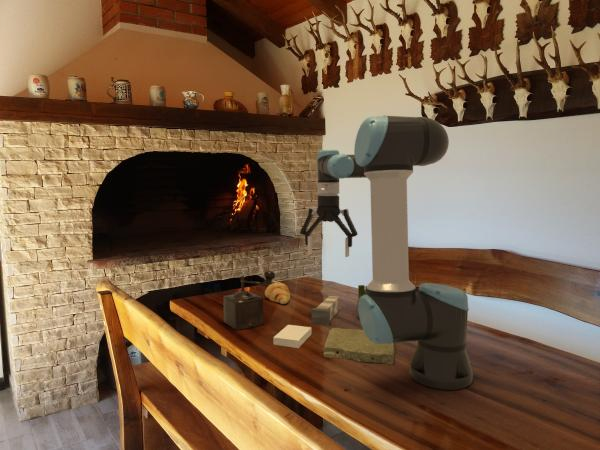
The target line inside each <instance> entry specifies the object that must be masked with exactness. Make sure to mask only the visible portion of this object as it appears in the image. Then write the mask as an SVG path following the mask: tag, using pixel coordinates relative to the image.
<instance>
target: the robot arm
mask: <svg viewBox="0 0 600 450" xmlns="http://www.w3.org/2000/svg"><path fill="white" fill-rule="evenodd" d="M362 121H363V122H361V124H360V126H359V128H358V130H357V133H356V136H355V141H354V148H353V149H354V151H353V152H354V153H353V154H345V153H340V151H339V150H338V149H320V150H318V152H317V159H316V162H317V194H318V196H317V208H314V207H311V208H309V209H308V213H307V217H306V219H305V220H304V223H303V225H302V227H301V229H300V231H299V234H300V235H303V236H304V238H305V239H304V240H305V241H304V243H305V245H306V246H307V255H309V256H310V255H312V254H313V235H311V234H312V233H313V232H314V230H315V229H316V228H317V227H318V225H320V224H321V222H324V223H325V222H326V223H327V222H328V223H333V222H334V223H335V224H336V225H337V226H338V227H339V228H340V230H341V231H342V232H343V233H344V234H345V236H346V237H345V240H344V241H345V242H344V243H345V244H344V245H345V247H344V249H345V250H344V251H345V252H344V255H345V258H349V256H350V248H352V246H353V237H357V236H358V231H357V230H356V227H355V224H354V223H353V221H352V218H351V216H350V214H349V213H350V212H349V209H348V208H345V209H341V208H340V196H339V194H340V179H359V178H360V179H361V178H362V179H363V178H365V179H366V178H367V179H368V180H369V185H370V220H371V221H370V223H371V228H370V230H371V262H372V264H371V265H372V267H371V268H372V270H371V271H372V279H371V282H369V283H368V284H367V285H366V286H367V295H363V296H362V297H360V299H359V303H358V302H357V303H358V312H359V317H358V318H359V321H360V326H361V328H362V330H364V332H365V334H366V336H367V337H368V339H369V340H370V341H372V342H373V343H376V344H392V343H395V344H396V343H397V344H399V343H406V342H415V341H417V345H416V347H415V350H414V353H413V355H412V358H411V361H410V364H409V375H410V376H411V377H410V378H412V379H413V380H414V381H415V382H417V383H418V384H420V385H422V386H425V387H428V388H431V389H436V390H443V391H454V390H455V391H457V390H461V389H465V388H468V387H469V386H470V385H472V384H473V378H474V376H473V374H474V373H473V372H474V371H473V368H472V365H471V361H470V358H469V354H468V351H467V338H468V317H469V316H468V315H469V314H468V312H469V310H470V308H469V300H468V299H469V298H468V294H467V293H466V292H465V291H463V290H462V289H460V288H457V287H453V286H450V285H447V284H440V283H432V282H431V283H430V282H424V283H421V284H419V287H418V291H416V289H417V288H416V285H415V284H413V282H412V281H410V278H409V276H410V274H409V273H410V272H409V271H410V270H409V269H410V268H409V225H408V224H409V223H408V220H409V219H408V216H409V215H408V183H407V182H408V179H409V178H410V177H411V176H412V174H413V173H414V167H418V166H419V167H424V166H429V165H433V164H435V163H437V162H439V161H440V160H442V159H443V157H444V156H445V155H446V153H447V151H448V149H449V142H450V141H449V135H448V133H447V130H446V129H445V127H444V126H443V125H442V124H441V123H440V122H439V121H437V120H435V119H434V118H431V117H426V116H400V115H399V116H398V115H397V116H396V115H386V114H385V115H380V116H379V115H378V116H370V117H367V118H366V119H364V120H362ZM316 214H317V216H318V217H316V220H315V221H314V222H313V223H312V225H311V226H310V223H311V221H312V220H313V217H314V215H316ZM340 215H342V216H343V218H344V220H345V221H346V225H347V226H348V227H347V226H346V225H345V224H344V222H343V221H342V219H341V218H340ZM309 226H310V227H309ZM308 227H309V228H308ZM348 228H349V229H348Z"/></svg>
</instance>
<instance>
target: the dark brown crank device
mask: <svg viewBox="0 0 600 450" xmlns="http://www.w3.org/2000/svg"><path fill="white" fill-rule="evenodd" d="M263 276H264V279H265V280H264V281H263V282H262V281H261V282H260V281H252V280H251V281H247V280H245V276H244V275H241V276H240V283H241V285H240V286H241V289H240V291H236V292H235V293H233V294H229V295H223V297H222V300H223V301H222V302H223V303H222V304H223V305H222V306H223V323H225V324H226V325H227V324H228V325H227V326H229V327H230V326H231V327H230V328H232V329H234V330H235V331H241V329H242V330H245V329H250V328H254V327H258V326H261V325H263V324H265V322H264V298H263V297H262V296H260V295H257V294H256V293H253V292H250V291H249V290H245V284H246V285H247V284H249V285H260V286H269V285H270V284H272V281H273V280H274V279H275V278H276V272H275V271H272V270H266V271H264V273H263Z"/></svg>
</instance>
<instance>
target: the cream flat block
mask: <svg viewBox="0 0 600 450" xmlns="http://www.w3.org/2000/svg"><path fill="white" fill-rule="evenodd" d="M312 330H313V329H312V327H311V326H302V325H296V324H295V325H293V324H287V325H286V326H285V327H284V328H283V329H281V330H280V331H279V332H278V333H277V334H276V335H274V336H273V340H272V341H273V345H274V346H280V347H288V348H293V349H299V348H300V347H301V346H302V345H303V344H304V343H305V342H306V341H307V340H308V339H309V338H310V337H311V335H312Z"/></svg>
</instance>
